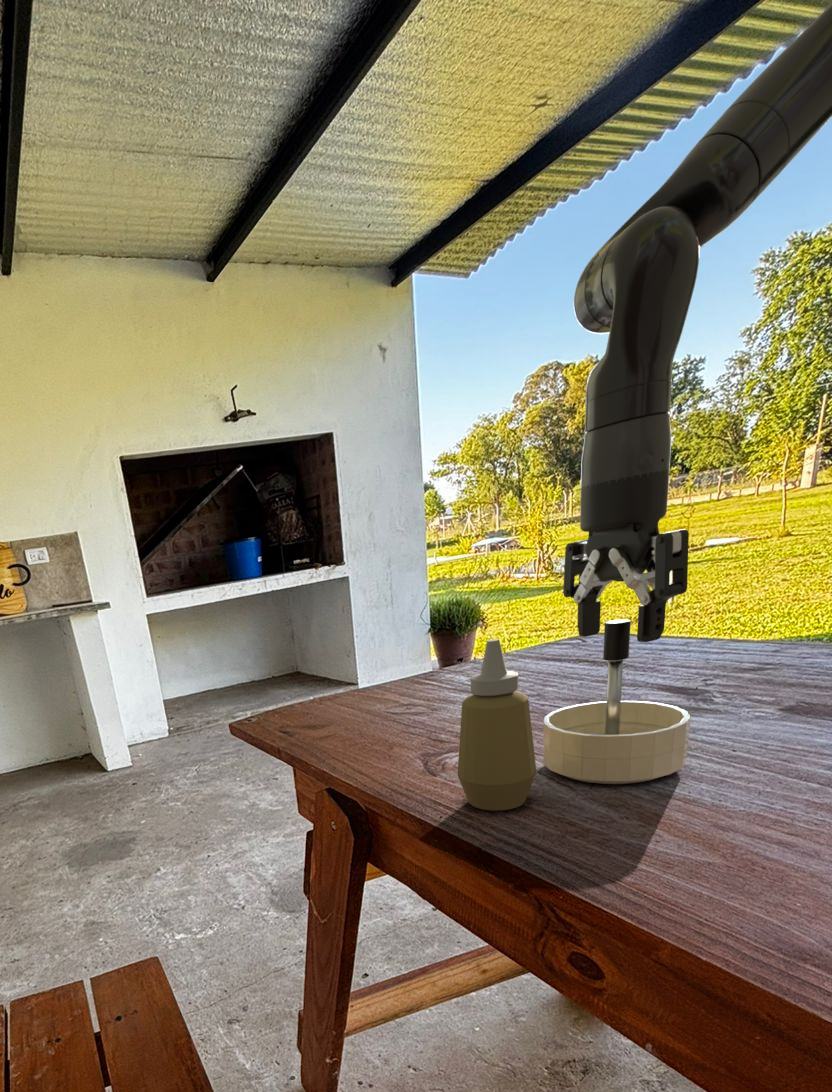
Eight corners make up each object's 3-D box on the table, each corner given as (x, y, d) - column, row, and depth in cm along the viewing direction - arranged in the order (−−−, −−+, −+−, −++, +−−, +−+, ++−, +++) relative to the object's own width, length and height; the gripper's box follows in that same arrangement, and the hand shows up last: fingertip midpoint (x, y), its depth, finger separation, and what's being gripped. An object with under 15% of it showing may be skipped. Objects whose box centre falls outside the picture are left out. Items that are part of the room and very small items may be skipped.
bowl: (618, 739, 80) (620, 694, 78) (718, 769, 67) (724, 716, 64) (518, 763, 78) (518, 717, 76) (601, 798, 65) (603, 745, 63)
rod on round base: (613, 749, 75) (620, 615, 69) (651, 761, 70) (661, 617, 64) (572, 758, 74) (576, 624, 69) (607, 771, 69) (614, 627, 63)
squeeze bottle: (540, 789, 70) (541, 629, 63) (531, 818, 63) (532, 644, 57) (466, 787, 74) (460, 636, 68) (451, 814, 68) (443, 651, 61)
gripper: (722, 454, 55) (705, 635, 61) (604, 480, 68) (599, 627, 74) (648, 468, 54) (638, 651, 60) (543, 492, 68) (543, 639, 73)
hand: (617, 637), depth 67 cm, fingers open, 8 cm apart
